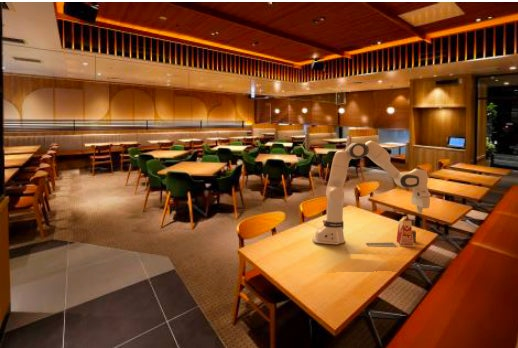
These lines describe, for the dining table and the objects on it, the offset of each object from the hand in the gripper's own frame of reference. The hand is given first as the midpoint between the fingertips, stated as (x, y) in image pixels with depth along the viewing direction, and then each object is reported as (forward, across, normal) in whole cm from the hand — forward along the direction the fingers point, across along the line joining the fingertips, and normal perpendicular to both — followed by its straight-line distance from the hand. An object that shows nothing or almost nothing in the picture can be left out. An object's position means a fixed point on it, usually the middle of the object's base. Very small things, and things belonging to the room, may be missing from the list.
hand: (419, 212), depth 192 cm
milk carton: (+22, 0, -9) cm, 24 cm away
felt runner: (+22, +2, -26) cm, 34 cm away
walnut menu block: (+22, -6, -2) cm, 23 cm away
